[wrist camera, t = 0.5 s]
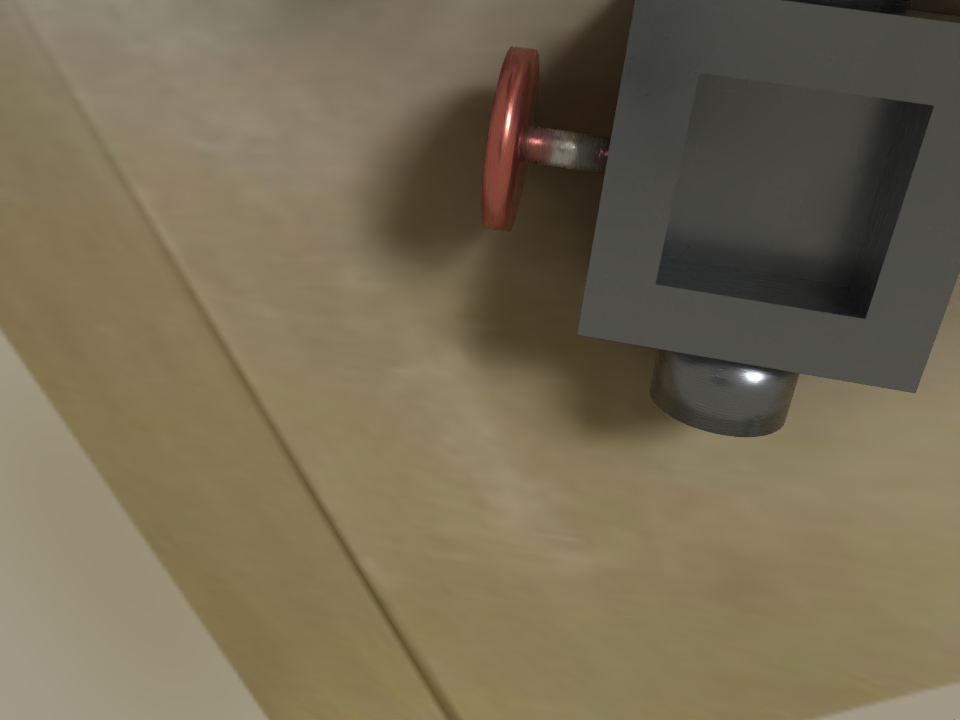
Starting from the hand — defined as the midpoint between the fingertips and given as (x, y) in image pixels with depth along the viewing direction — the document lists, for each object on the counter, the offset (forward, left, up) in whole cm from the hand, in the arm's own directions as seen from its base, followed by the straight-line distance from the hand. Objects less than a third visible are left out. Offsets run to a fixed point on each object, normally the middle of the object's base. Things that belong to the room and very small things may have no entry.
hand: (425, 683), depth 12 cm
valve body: (-3, +5, -25) cm, 26 cm away
